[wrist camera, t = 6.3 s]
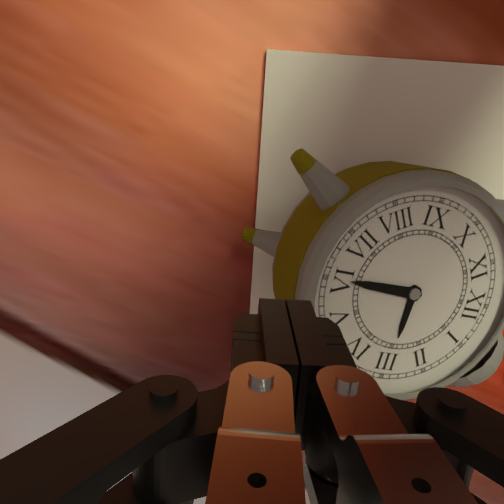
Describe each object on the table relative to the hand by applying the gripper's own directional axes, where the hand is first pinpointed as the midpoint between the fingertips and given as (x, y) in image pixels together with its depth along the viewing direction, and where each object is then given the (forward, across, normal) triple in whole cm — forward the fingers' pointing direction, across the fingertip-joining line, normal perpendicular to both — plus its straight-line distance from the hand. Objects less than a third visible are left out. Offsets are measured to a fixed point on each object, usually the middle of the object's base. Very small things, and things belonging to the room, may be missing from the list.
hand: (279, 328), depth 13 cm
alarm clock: (+9, +1, 0) cm, 9 cm away
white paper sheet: (+14, -7, 0) cm, 16 cm away
